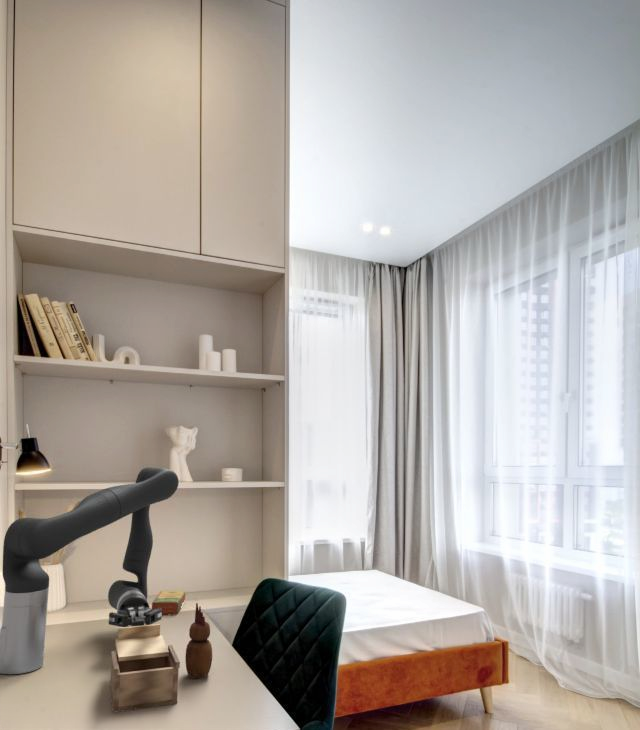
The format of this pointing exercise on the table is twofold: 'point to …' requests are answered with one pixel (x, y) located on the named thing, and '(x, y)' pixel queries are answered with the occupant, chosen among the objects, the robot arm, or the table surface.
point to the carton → (169, 602)
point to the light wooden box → (144, 681)
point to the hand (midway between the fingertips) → (138, 625)
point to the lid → (140, 643)
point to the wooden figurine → (199, 647)
